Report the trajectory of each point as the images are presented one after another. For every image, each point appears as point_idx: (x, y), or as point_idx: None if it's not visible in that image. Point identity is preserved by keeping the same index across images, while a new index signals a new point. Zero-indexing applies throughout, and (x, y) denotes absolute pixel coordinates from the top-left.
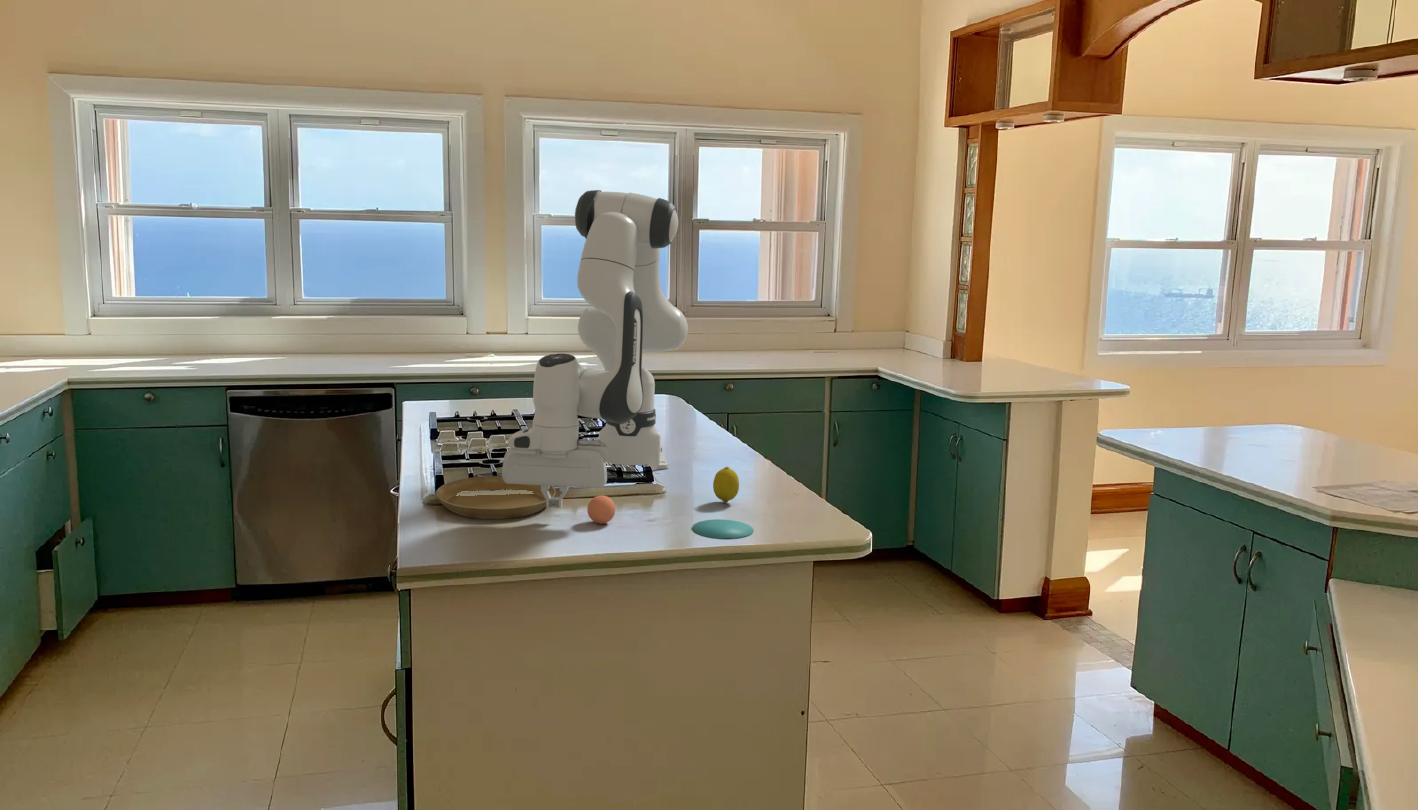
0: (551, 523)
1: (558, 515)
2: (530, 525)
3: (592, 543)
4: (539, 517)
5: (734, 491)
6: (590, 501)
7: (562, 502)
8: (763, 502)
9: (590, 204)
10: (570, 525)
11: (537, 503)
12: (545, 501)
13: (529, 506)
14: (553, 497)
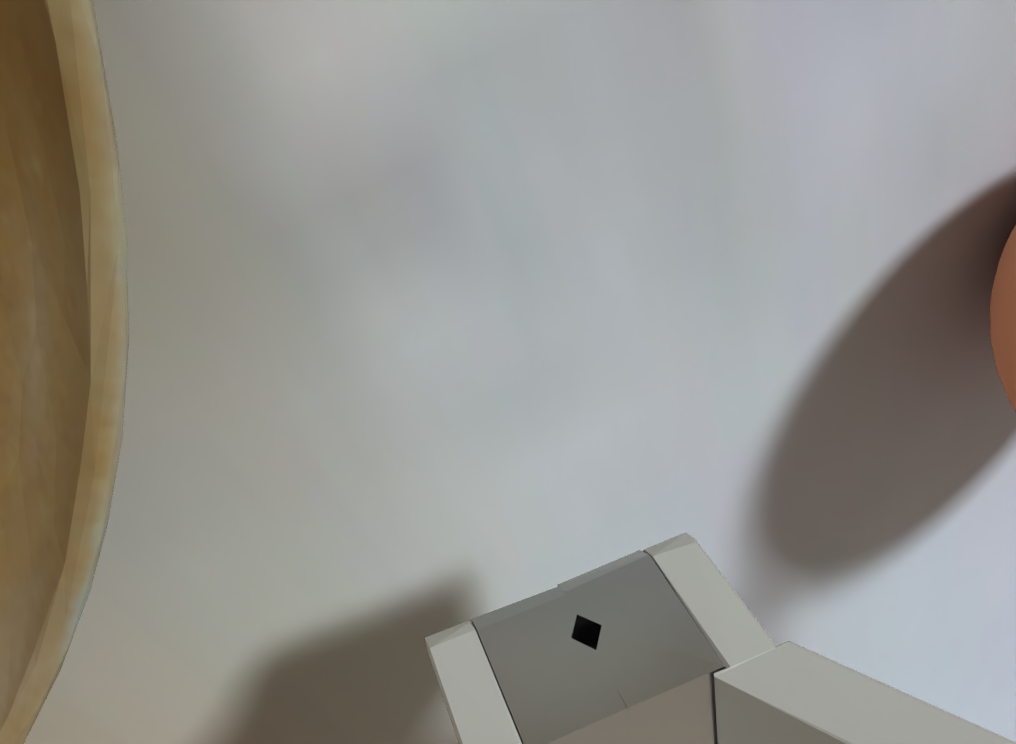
0: (481, 539)
1: (417, 173)
2: (270, 720)
3: (953, 702)
4: (167, 427)
5: None
6: None
7: (720, 579)
8: None
9: None
10: (722, 477)
11: (79, 574)
12: (128, 332)
13: (21, 717)
14: (594, 739)
